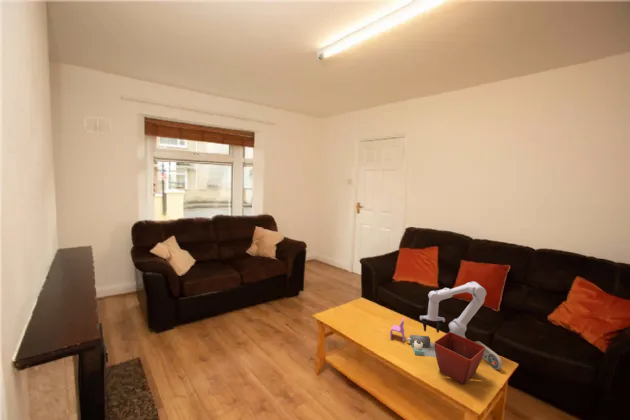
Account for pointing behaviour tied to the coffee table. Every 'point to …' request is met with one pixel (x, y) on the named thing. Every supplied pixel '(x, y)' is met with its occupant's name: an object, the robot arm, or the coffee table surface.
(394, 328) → the toy chair
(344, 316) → the coffee table surface
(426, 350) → the motor assembly
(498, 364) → the game controller
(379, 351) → the coffee table surface
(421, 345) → the cream canister
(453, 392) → the coffee table surface
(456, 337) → the plant pot
